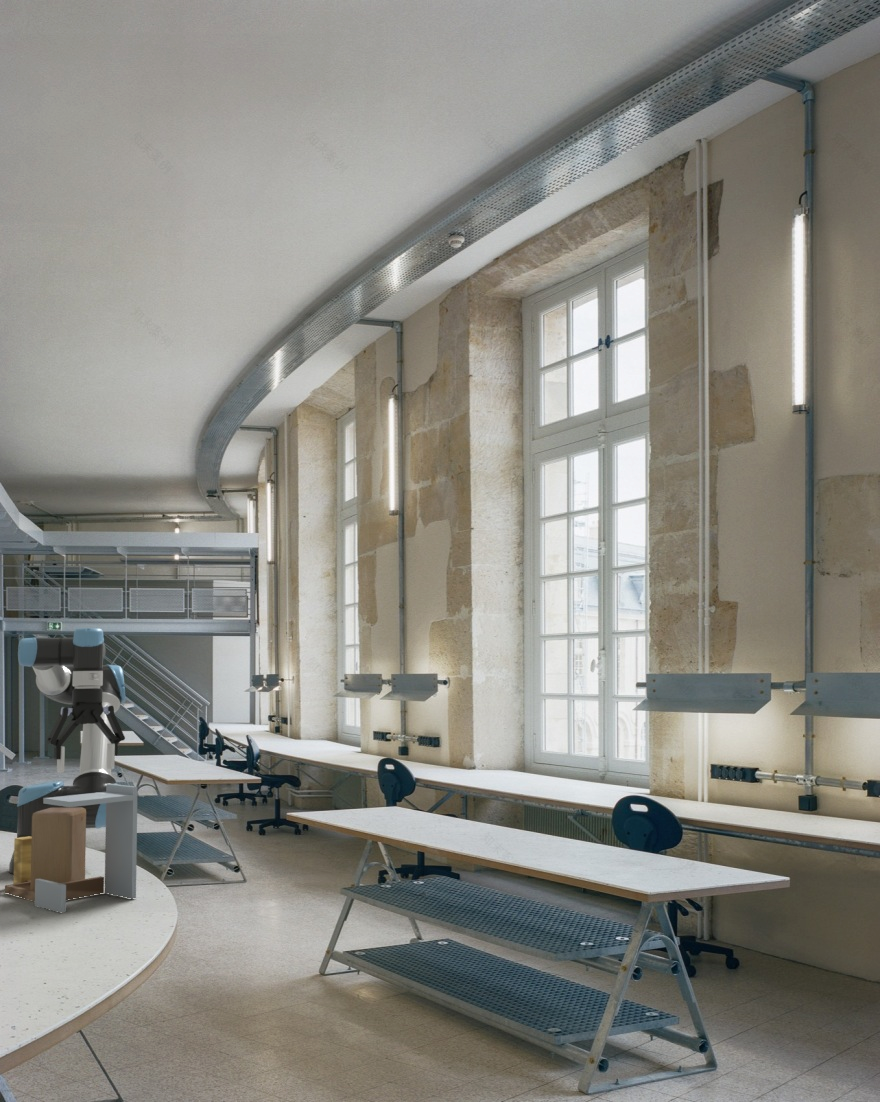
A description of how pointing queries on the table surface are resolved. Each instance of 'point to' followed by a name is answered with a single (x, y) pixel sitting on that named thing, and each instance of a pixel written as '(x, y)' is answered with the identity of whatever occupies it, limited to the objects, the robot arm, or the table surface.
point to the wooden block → (58, 845)
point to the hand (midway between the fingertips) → (86, 770)
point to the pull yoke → (24, 876)
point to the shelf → (116, 844)
